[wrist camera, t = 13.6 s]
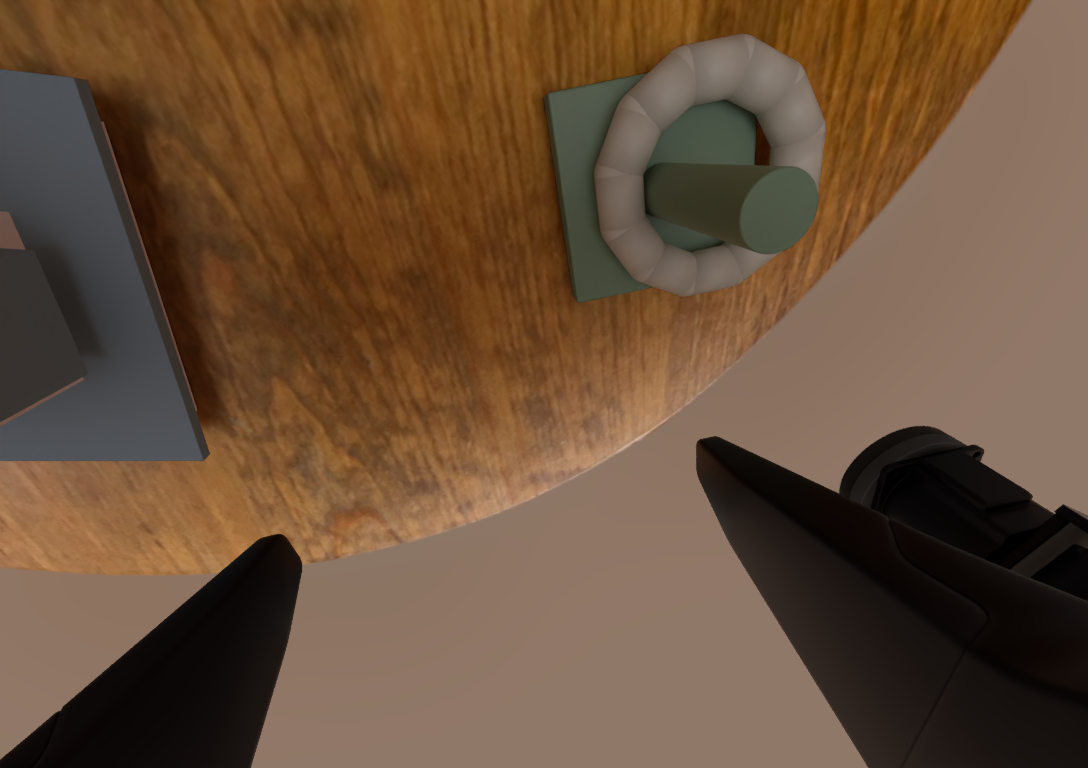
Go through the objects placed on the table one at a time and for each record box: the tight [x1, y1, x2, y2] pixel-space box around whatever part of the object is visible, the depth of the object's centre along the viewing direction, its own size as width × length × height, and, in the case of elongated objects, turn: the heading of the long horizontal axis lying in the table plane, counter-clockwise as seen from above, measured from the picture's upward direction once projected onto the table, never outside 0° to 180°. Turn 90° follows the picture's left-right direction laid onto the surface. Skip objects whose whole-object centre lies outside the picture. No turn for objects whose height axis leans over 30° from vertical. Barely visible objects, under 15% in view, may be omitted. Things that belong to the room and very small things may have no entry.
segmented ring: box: [594, 34, 826, 296], centre depth 17 cm, size 9×9×2 cm
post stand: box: [544, 73, 818, 303], centre depth 14 cm, size 8×8×9 cm
